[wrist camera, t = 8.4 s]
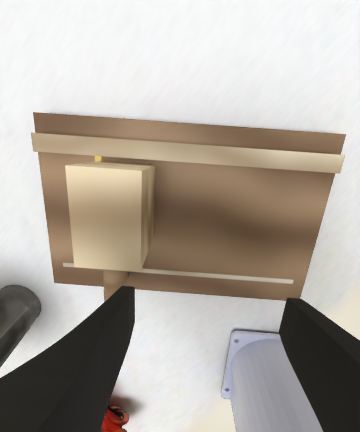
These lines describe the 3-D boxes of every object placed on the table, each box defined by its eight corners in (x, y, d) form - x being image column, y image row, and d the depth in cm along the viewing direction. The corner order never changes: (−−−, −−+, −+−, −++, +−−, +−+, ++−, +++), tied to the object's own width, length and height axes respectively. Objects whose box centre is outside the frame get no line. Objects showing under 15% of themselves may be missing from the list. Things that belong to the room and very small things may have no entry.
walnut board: (290, 291, 20) (306, 311, 18) (63, 273, 20) (45, 291, 18) (331, 135, 16) (359, 133, 14) (46, 115, 16) (20, 109, 14)
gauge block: (151, 278, 19) (139, 322, 14) (106, 274, 19) (78, 317, 14) (155, 164, 16) (141, 170, 11) (101, 160, 16) (64, 165, 11)
